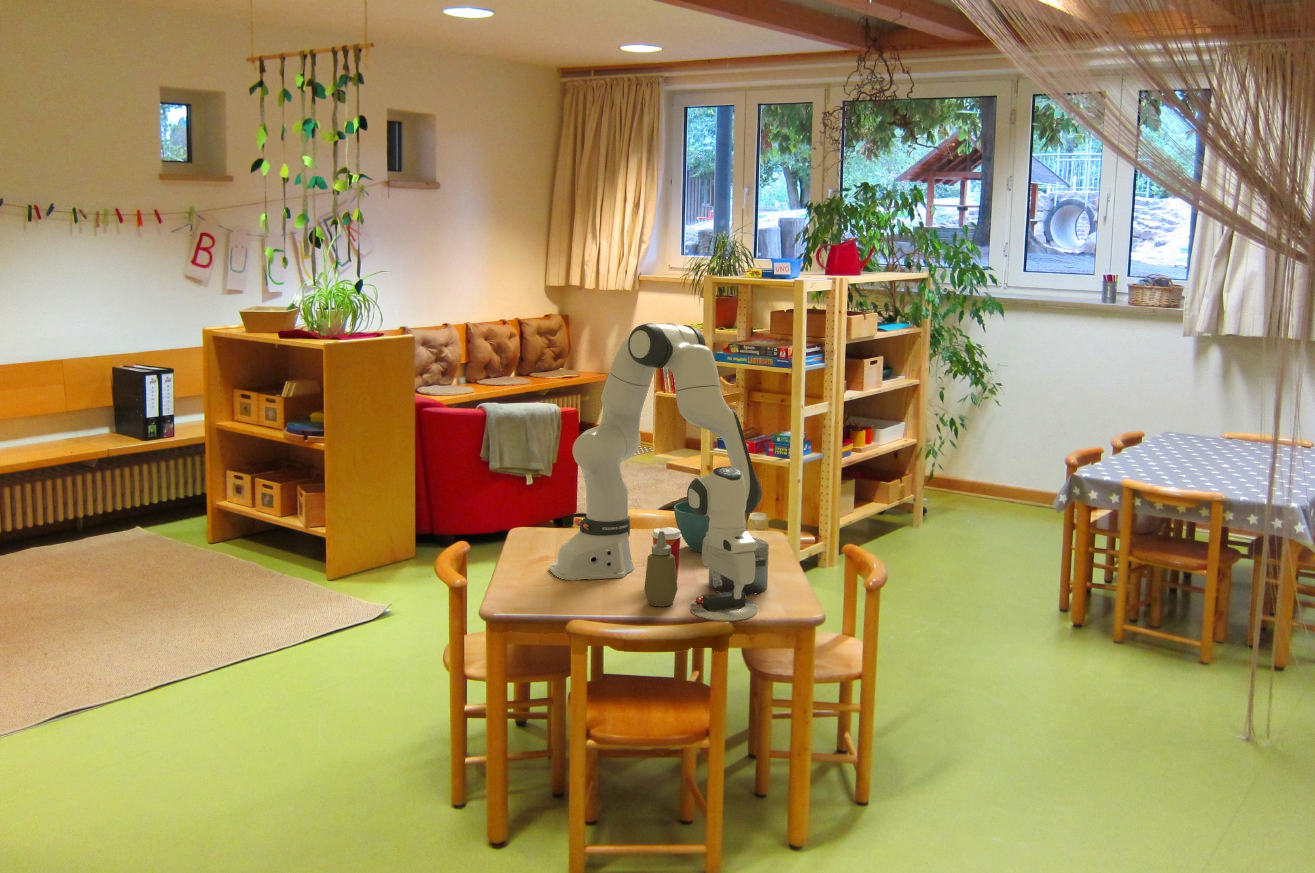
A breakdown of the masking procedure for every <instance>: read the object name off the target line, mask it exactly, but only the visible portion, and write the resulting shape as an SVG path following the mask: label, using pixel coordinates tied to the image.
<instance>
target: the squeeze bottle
mask: <svg viewBox="0 0 1315 873" xmlns="http://www.w3.org/2000/svg"><path fill="white" fill-rule="evenodd" d="M670 553H671V546H670V545H667V543H666V539H665V534H664V531H659V535H658V539H657V543H656V544H655V545H652V546H651V553H650V554H649V555H648V556H647V561H646V568H645V569H646V570H645V578H644V579H645V580H644V588H643V590H644V592H645V595H646V599H647V601H648V604H649V605H650V606H653V607H668V606H669V607H670V606H671V605H673V603H674V601H675V598H676V595H677V591H678V589H679V588H678V578H677V577H676V565H675V557H674V556H673V555H672V554H670Z"/></svg>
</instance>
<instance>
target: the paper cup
mask: <svg viewBox="0 0 1315 873" xmlns="http://www.w3.org/2000/svg"><path fill="white" fill-rule="evenodd" d="M659 531H664V534H665V539H666V543H667V545H670V546H671V553H670V554H672V555H673V556H674V557H675V565H676V577H677V579H678V577H679V576H678V575H679V564H680V562H679V561H680V549H681V538H683V537H682V535H681V534H680V530H679V529H678V527H677V528H676V527H667V526H666V527H659V528H658V527H656V528H654V529H653V532H652V534H651V537H652V544H653V545H655V544H656V543H657V539H658V535H659ZM653 545H652V546H653Z"/></svg>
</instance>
